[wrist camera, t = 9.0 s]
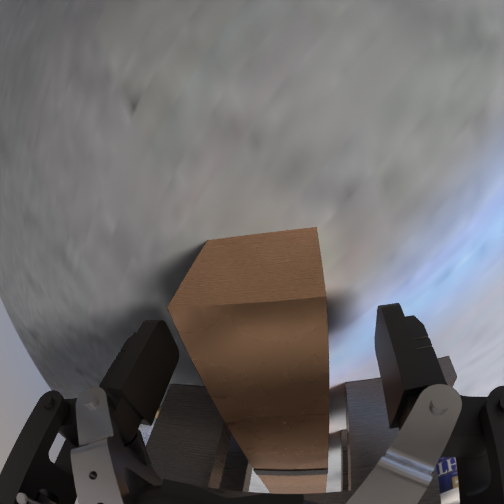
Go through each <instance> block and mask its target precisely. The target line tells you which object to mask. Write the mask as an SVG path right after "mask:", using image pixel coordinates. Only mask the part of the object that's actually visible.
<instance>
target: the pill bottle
mask: <svg viewBox="0 0 504 504" xmlns="http://www.w3.org/2000/svg"><path fill="white" fill-rule="evenodd" d="M436 468H437V474H438V481H439V489H440V497H441V504H460V497H459V484H458V474H457V466H456V458H455V457H440V459H439V461H438V463H437V464H436Z"/></svg>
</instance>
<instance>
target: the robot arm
mask: <svg viewBox="0 0 504 504" xmlns="http://www.w3.org/2000/svg"><path fill="white" fill-rule="evenodd" d="M375 351H376V357H377V361H378V366H379V371H380V376H381V381H382V386H383V391H384V397H385V402H386V408H387V414H388V421H389V427H390V429H393V428H398V427H399V433H398V435H397V436H396V438H395V439H394V441H393V443H392V444H391V446H390V447H389V449H388V450H387V452H386V453H385V454H384V455H383V456H382V458H381V459H380V460H379V462H378V463H377V464H376V466H375V467H374V468H373V470H372V471H371V473H370V474H369V475H368V477H367V478H366V479H365V481H364V482H363V483H362V484H361V486H360V487H359V488H358V489H357V491H356V492H355V493H354V494H353V496H352V497H351V498H350V499H349V500H348V502H347V503H346V504H418V502H419V500H420V499H421V497H422V496H423V494H424V492H425V491H426V489H427V487H428V486H429V484H430V482H431V480H432V477H433V471H434V468H435V466H436V464H437V463H438V461H439V459H440V457H455V458H456V466H457V474H458V484H459V497H460V504H504V386H499V387H497V388H495V389H494V390H493V391H491V393H490V394H489V396H488V397H467V396H462V395H459V393H458V392H457V391H456V390H455V389H454V388H452V387H451V386H448V385H447V383H446V381H445V378H444V375H443V372H442V370H441V367H440V364H439V361H438V359H437V356H436V354H435V351H434V349H433V347H432V344H431V341H430V339H429V338H428V334H427V332H426V329H425V327H424V325H423V324H422V323H421V322H420V321H419V320H418V319H417V318H416V317H415V316H414V315H413V316H407V317H405V316H404V313H403V311H402V308H401V306H400V304H399V303H394V304H387V305H380V306H378V309H377V319H376V330H375ZM178 359H179V351H178V347H177V345H176V343H175V341H174V339H173V337H172V335H171V333H170V331H169V329H168V327H167V325H166V323H165V322H164V321H163V320H146V321H144V322H143V324H142V325H141V327H140V328H139V330H138V332H137V333H136V332H135V333H134V334H133V335H132V336H131V337H130V338H129V339H128V340H127V341H126V342H125V344H124V345H123V347H122V349H121V352H119V353H118V355H117V357H116V360H114V362H113V363H112V365H111V367H110V368H109V370H108V372H107V373H106V375H105V377H104V379H103V380H102V382H101V384H100V385H99V387H91V388H88V389H86V390H85V391H83V392H82V393H81V394H80V395H79V397H78V398H75V399H64V397H63V396H62V395H61V394H60V393H59V392H58V391H55V390H52V391H49V392H47V393H45V394H44V395H43V396H42V397H41V398H40V399H39V401H38V403H37V404H36V406H35V408H34V409H33V412H32V413H31V415H30V417H29V418H28V420H27V422H26V424H25V426H24V427H23V429H22V431H21V433H20V435H19V437H18V439H17V441H16V443H15V445H14V447H13V449H12V451H11V453H10V455H9V457H8V459H7V461H6V463H5V465H4V467H3V470H2V472H1V474H0V504H75V501H76V498H78V503H79V504H320V503H317V502H313V501H309V500H305V499H304V495H303V494H268V493H265V494H259V495H252V496H244V497H235V498H225V497H222V496H219V495H217V494H214V493H212V492H209V491H207V490H204V489H202V488H200V487H197V486H195V485H191V484H186V483H181V482H177V481H172V480H168V479H163V482H162V480H161V479H160V477H159V476H158V475H157V474H156V472H155V471H154V469H153V467H152V464H151V461H150V458H149V456H148V453H147V450H146V447H145V444H144V441H143V438H142V435H141V432H140V430H139V429H138V428H139V425H140V424H145V425H150V426H151V425H152V423H153V420H154V418H155V415H156V413H157V411H158V408H159V406H160V403H161V401H162V398H163V396H164V394H165V391H166V389H167V386H168V384H169V382H170V379H171V377H172V375H173V372H174V370H175V367H176V365H177V363H178ZM58 432H59V433H60V434H61V435H62V436H63V437H64V438H66V440H65V442H64V444H63V446H62V449H61V451H60V453H59V455H58V457H57V460H56V462H55V463H52V462H51V461H50V459H49V455H48V453H49V450H50V448H51V446H52V444H53V442H54V439H55V437H56V435H57V433H58Z"/></svg>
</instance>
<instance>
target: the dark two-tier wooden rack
mask: <svg viewBox="0 0 504 504" xmlns="http://www.w3.org/2000/svg"><path fill="white" fill-rule="evenodd" d="M438 361H439V364H440V367H441V370H442V372H443V375H444V378H445V381H446V383H447V385H448V386H451V387H453V385H454V383H455V381H456V378H457V375H456V372H455V370H454V367H453V365H452V362H451V360H450V358H449V356H448V357H444V358H440V359H438ZM345 408H346V425H347V430H342V432H341V492H329V493H310V494H303V495H304V499H305V500H309V501H313V502H317V503H320V504H346V503H347V502H348V500H349V499H350V498H351V497H352V496H353V494H354V493H355V492H356V491H357V489H358V488H359V487H360V486H361V484H362V483H363V482H364V481H365V479H366V478H367V477H368V475H369V474H370V473H371V471H372V470H373V468H374V467H375V466H376V464H377V463H378V462H379V460H380V459H381V458H382V456H383V455H384V454H385V453H386V452H387V450H388V449H389V447H390V446H391V444H392V443H393V441H394V439H395V438H396V436H397V435H398V433H399V427H398V428H393V429H390V427H389V421H388V414H387V408H386V402H385V397H384V391H383V386H382V381H381V378H378V379H371V380H364V381H356V382H347V383H346V386H345ZM155 418H156V419H157V420H156V422H155V425H154V427H153V430H152V432H151V435H150V437H149V440H148V442H147V445H146V450H147V453H148V456H149V458H150V461H151V464H152V467H153V469H154V471H155V472H156V474H157V475H158V476H159V477H160V479H161V480H162V482H163V479H168V480H172V481H177V482H181V483H186V484H191V485H195V486H197V487H200V488H202V489H204V490H207V491H209V492H212V493H214V494H217V495H219V496H222V497H225V498H235V497H244V496H252V495H259V494H265V493H254V492H248V491H249V485H250V480H251V474H252V468H253V467H252V465H251V464H250V462H249V460H248V459H247V457H246V456H245V454H244V453H243V451H242V449H241V448H240V446H239V445H238V443H237V441H236V440H235V438H234V436H233V435H232V433H231V431H230V430H229V428H228V426H227V425H226V423H225V421H224V419H223V418H222V416H221V414H220V412H219V411H218V409H217V407H216V405H215V403H214V402H213V400H212V398H211V396H210V394H209V392H208V391H207V389H206V387H203V386H188V385H175V384H171V385H170V388H169V390H168V392H167V395H166V397H165V400H164V402H163V405H162V407H159V408H158V411H157V413H156V415H155ZM268 494H273V493H268ZM418 504H441V497H440V489H439V481H438V474H437V468H436V466H435V468H434V471H433V477H432V480H431V482H430V484H429V486H428V487H427V489H426V491H425V492H424V494H423V496H422V497H421V499H420V500H419V502H418Z"/></svg>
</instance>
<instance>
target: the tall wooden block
mask: <svg viewBox="0 0 504 504" xmlns="http://www.w3.org/2000/svg"><path fill="white" fill-rule="evenodd" d="M167 308H168V310H169V312H170V315H171V317H172V319H173V321H174V324H175V326H176V328H177V330H178V332H179V334H180V337H181V339H182V341H183V343H184V345H185V347H186V349H187V351H188V353H189V355H190V357H191V360H192V362H193V364H194V366H195V368H196V369H197V371H198V373H199V375H200V377H201V379H202V381H203V383H204V385H205V387H206V389H207V391H208V392H209V394H210V396H211V398H212V400H213V402H214V403H215V405H216V407H217V409H218V411H219V412H220V414H221V416H222V418H223V419H224V421H225V423H226V425H227V426H228V428H229V430H230V431H231V433H232V435H233V436H234V438H235V440H236V441H237V443H238V445H239V446H240V448H241V449H242V451H243V453H244V454H245V456H246V457H247V459H248V460H249V462H250V464H251V465H252V467H253V468H254V472H255V473H256V474H257V475H258V476H259V477H260V479H261V480H262V482H263V483H264V484H265V486H266V487H267V489H268V490H269V492H270V493H273V494H310V493H326V481H327V474H328V443H329V345H328V321H327V303H326V291H325V283H324V275H323V267H322V260H321V253H320V246H319V239H318V233H317V227H313V228H304V229H295V230H287V231H278V232H270V233H262V234H254V235H246V236H238V237H230V238H222V239H214V240H207V242H206V243H205V245H204V247H203V248H202V250H201V251H200V253H199V255H198V256H197V258H196V260H195V261H194V263H193V265H192V266H191V268H190V270H189V271H188V273H187V275H186V276H185V278H184V280H183V281H182V283H181V285H180V286H179V288H178V290H177V291H176V293H175V295H174V297H173V298H172V300H171V302H170V303H169V305H168V307H167Z"/></svg>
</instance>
